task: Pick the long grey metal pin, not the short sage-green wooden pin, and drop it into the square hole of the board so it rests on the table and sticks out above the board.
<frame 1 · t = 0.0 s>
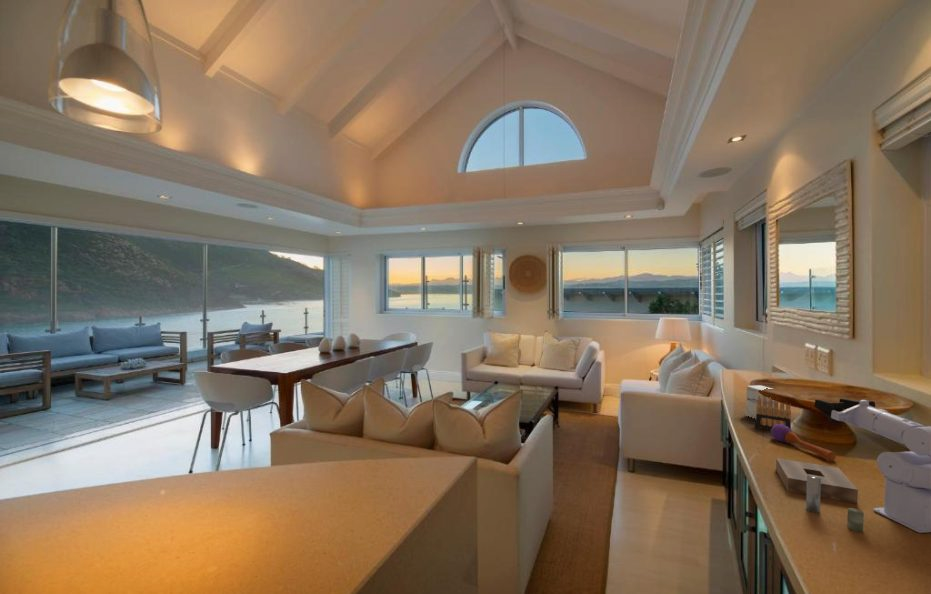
hand: (828, 402, 116), 22 cm above the table, tool horizontal, fingers open, 7 cm apart
purple and brown maraca: (800, 450, 139), on the table
hole board: (813, 485, 114), on the table
long pin: (812, 510, 101), on the table
short pin: (854, 528, 94), on the table
ammunition clip: (772, 429, 158), on the table
supplement box: (760, 418, 171), on the table
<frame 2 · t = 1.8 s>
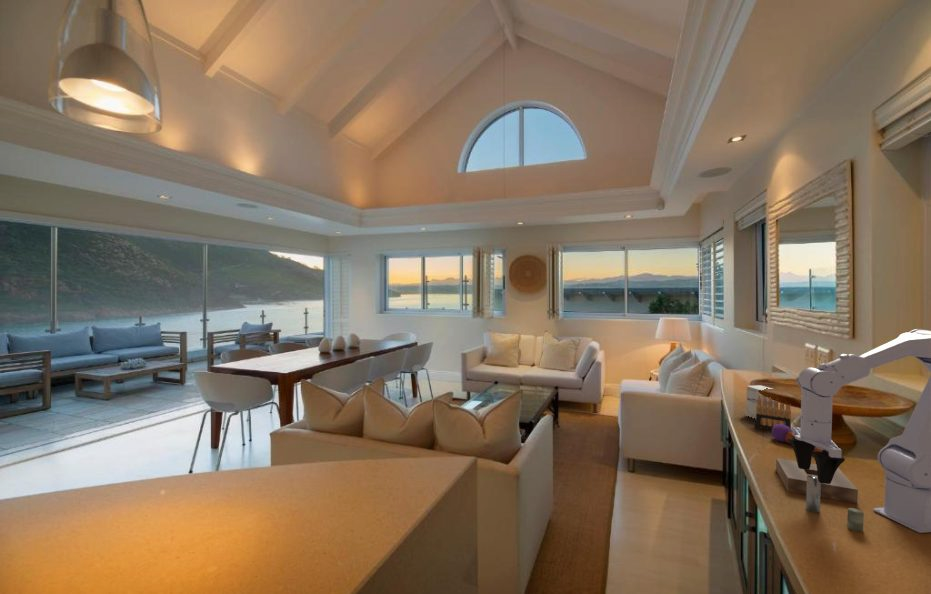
hand: (813, 475, 101), 8 cm above the table, tool pointing down, fingers open, 7 cm apart
nothing on the table moved.
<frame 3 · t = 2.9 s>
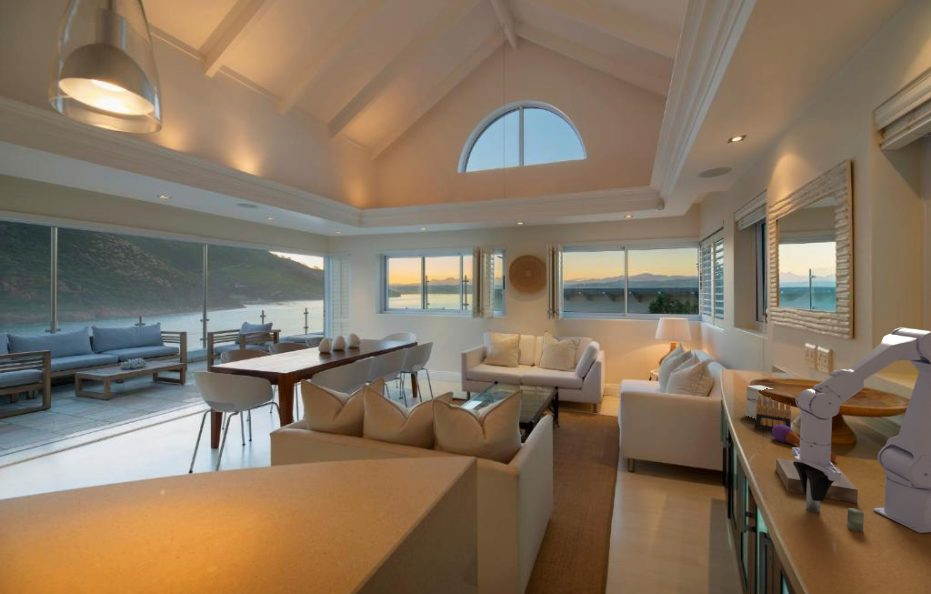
hand: (813, 496, 101), 3 cm above the table, tool pointing down, fingers closed on long pin, 3 cm apart
long pin: (812, 510, 101), on the table, touching gripper
everything else where it was.
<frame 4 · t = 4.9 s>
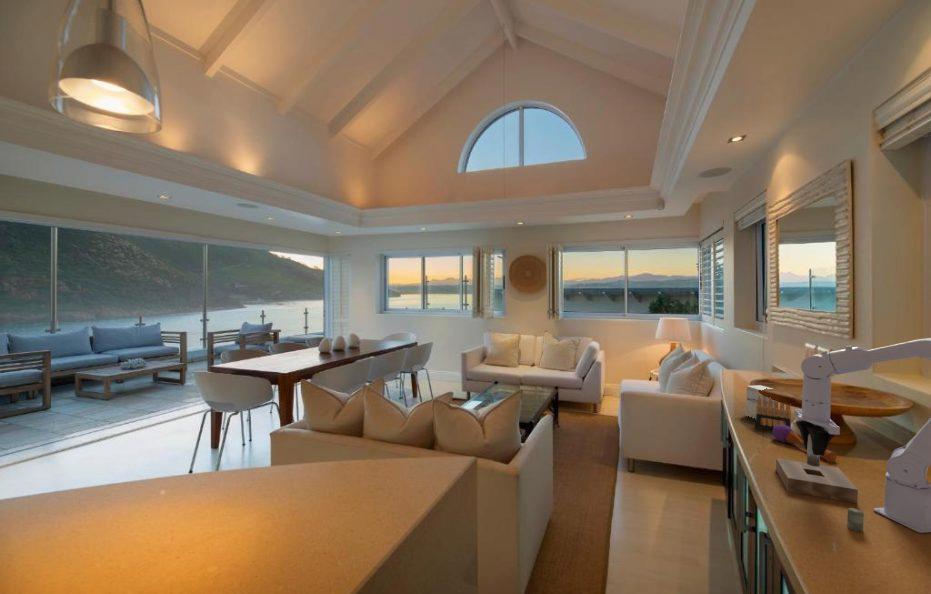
hand: (814, 452, 111), 10 cm above the table, tool pointing down, fingers closed on long pin, 3 cm apart
long pin: (813, 464, 111), point 7 cm above the table, touching gripper
everything else where it was.
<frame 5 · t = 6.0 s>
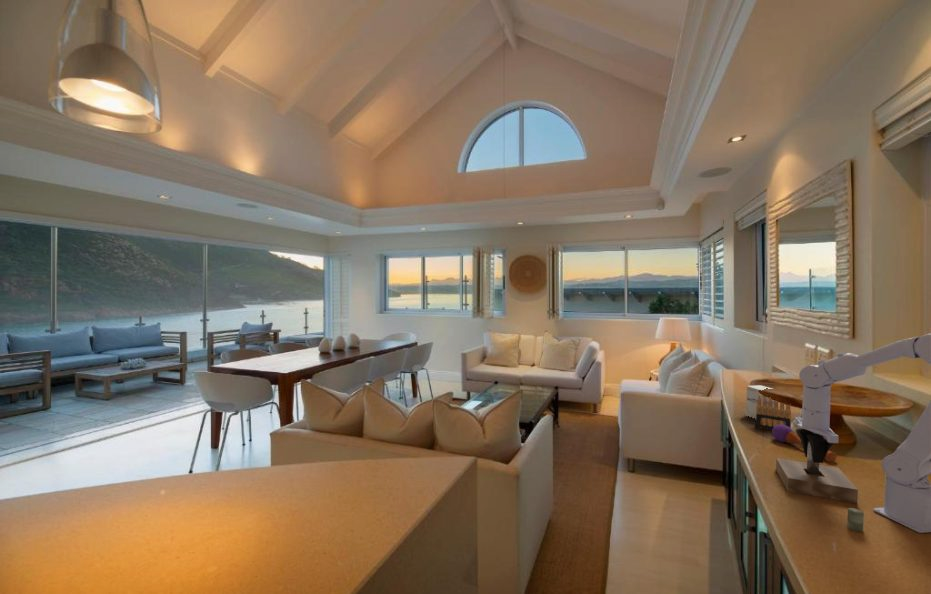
hand: (814, 459, 114), 7 cm above the table, tool pointing down, fingers closed on long pin, 3 cm apart
long pin: (812, 471, 114), point 4 cm above the table, touching gripper
everything else where it was.
when the fingers open (5 cm above the table, at t = 6.8 s): long pin drops 1 cm, resting in hole board.
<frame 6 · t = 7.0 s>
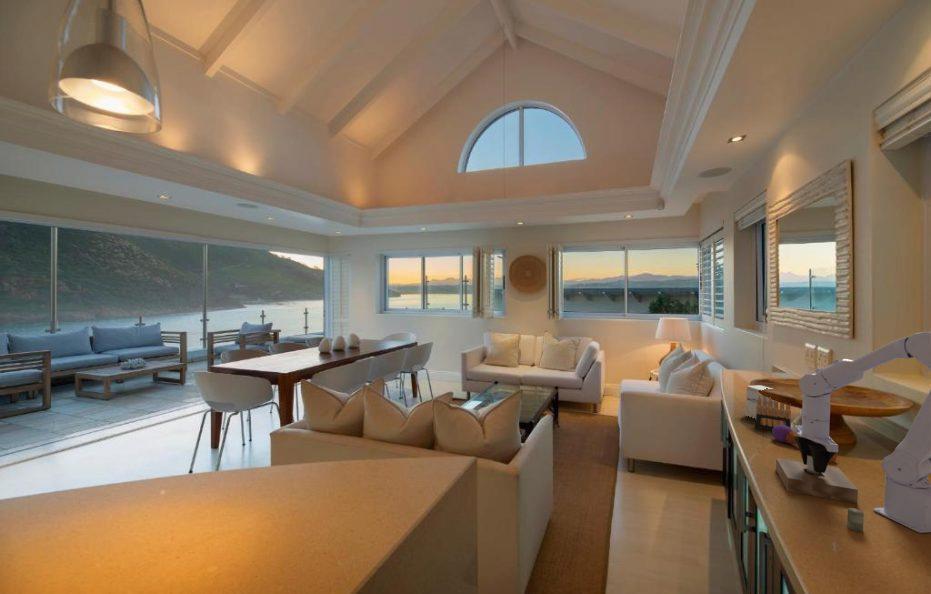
hand: (813, 468, 114), 5 cm above the table, tool pointing down, fingers open, 4 cm apart
long pin: (812, 485, 114), resting in hole board
everything else where it was.
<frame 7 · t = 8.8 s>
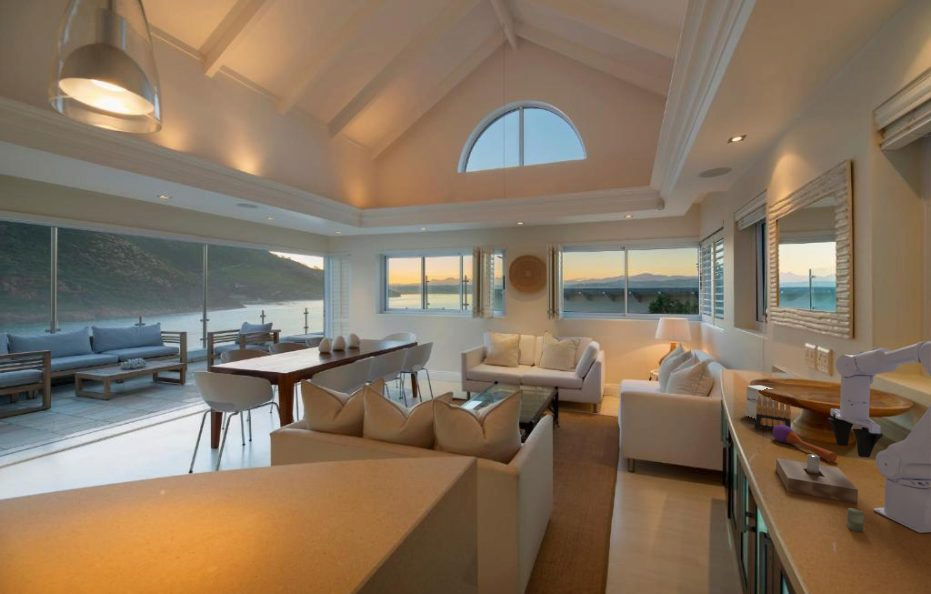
hand: (852, 450, 113), 10 cm above the table, tool pointing down, fingers open, 7 cm apart
nothing on the table moved.
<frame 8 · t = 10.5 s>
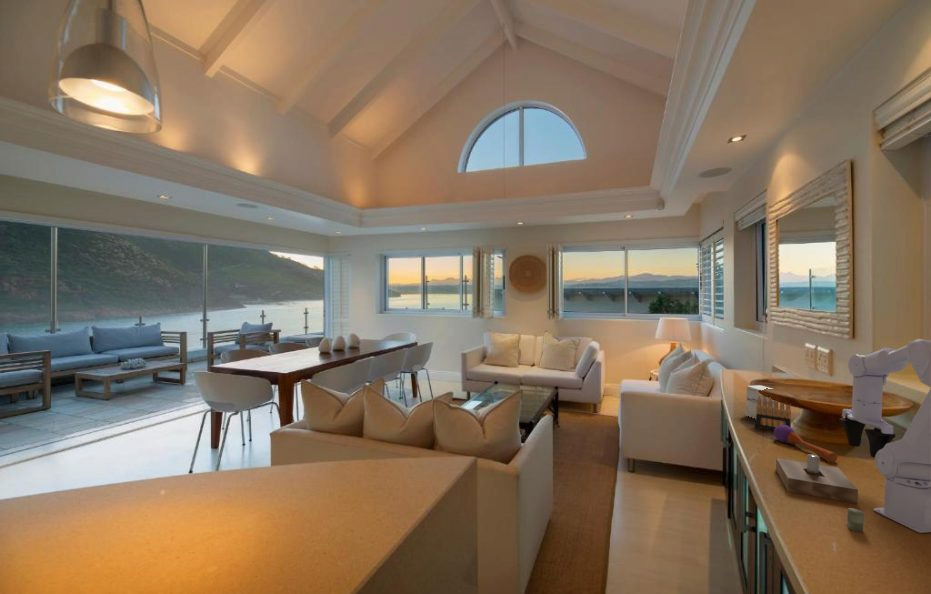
hand: (865, 451, 112), 10 cm above the table, tool pointing down, fingers open, 7 cm apart
nothing on the table moved.
at the end: long pin 0.2 cm off-centre on the hole board, point 0.0 cm above the hole board's base; long pin tilted 0°; short pin moved 0.0 cm from its start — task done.
